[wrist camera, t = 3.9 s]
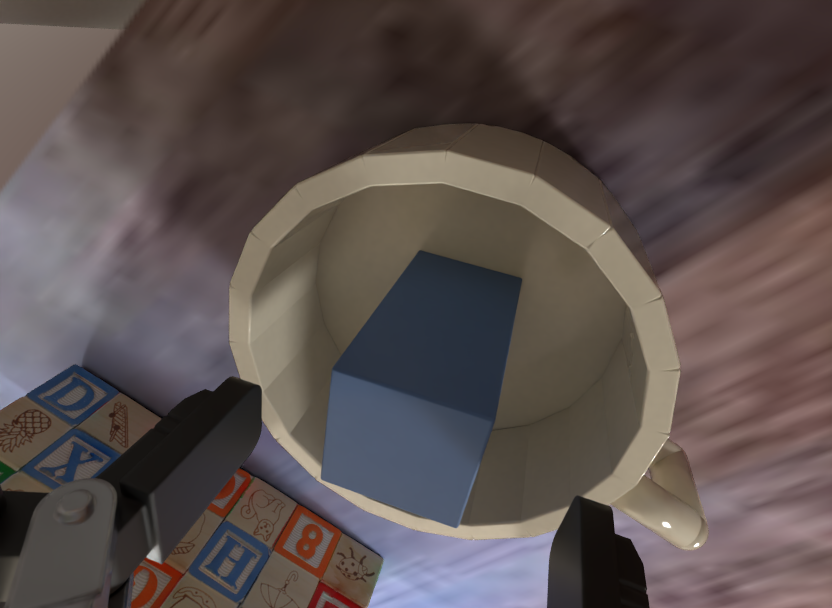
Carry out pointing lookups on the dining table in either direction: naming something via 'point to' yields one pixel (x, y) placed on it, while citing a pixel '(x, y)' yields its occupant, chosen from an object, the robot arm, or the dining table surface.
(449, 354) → the block
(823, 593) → the dining table surface
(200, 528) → the stack of blocks
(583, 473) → the mug
